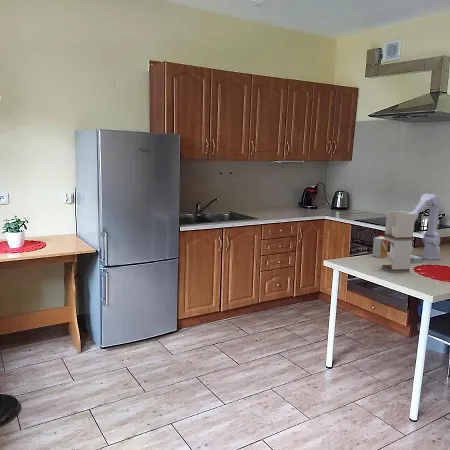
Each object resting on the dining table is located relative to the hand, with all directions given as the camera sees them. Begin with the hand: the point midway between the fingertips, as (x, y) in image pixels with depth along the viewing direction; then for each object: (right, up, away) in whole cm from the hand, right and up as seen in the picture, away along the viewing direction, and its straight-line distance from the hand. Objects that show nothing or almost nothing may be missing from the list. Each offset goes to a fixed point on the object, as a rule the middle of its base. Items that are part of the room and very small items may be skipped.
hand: (402, 258), depth 284 cm
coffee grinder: (-14, -5, -23) cm, 28 cm away
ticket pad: (+6, -1, +3) cm, 7 cm away
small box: (-11, +1, +12) cm, 16 cm away
